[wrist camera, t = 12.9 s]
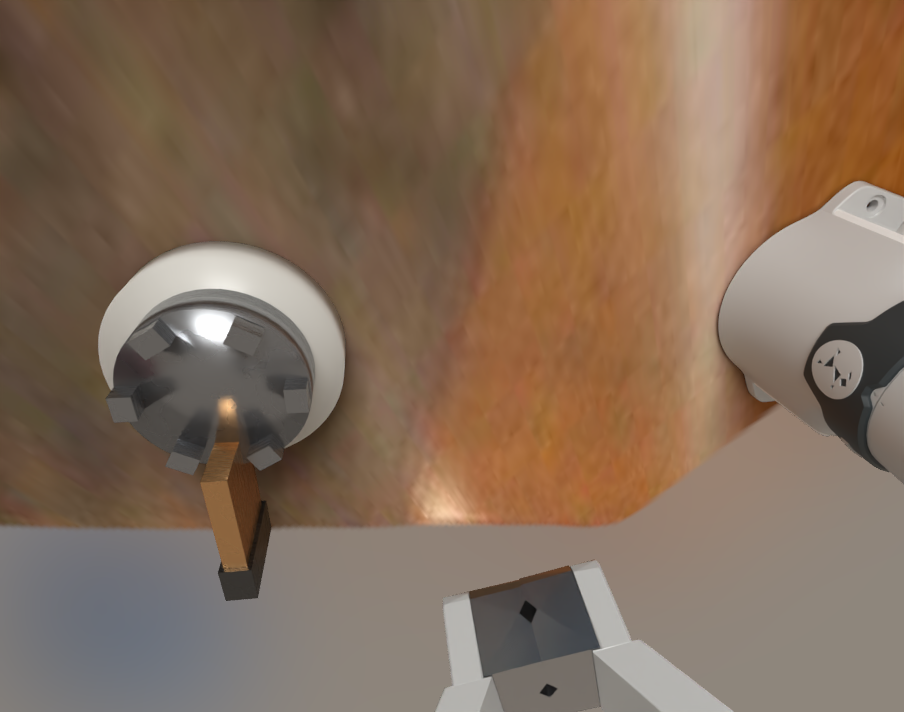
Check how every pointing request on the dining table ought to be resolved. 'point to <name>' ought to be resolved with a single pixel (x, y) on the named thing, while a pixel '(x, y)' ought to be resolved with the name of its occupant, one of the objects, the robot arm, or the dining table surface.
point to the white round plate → (247, 275)
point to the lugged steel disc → (219, 408)
